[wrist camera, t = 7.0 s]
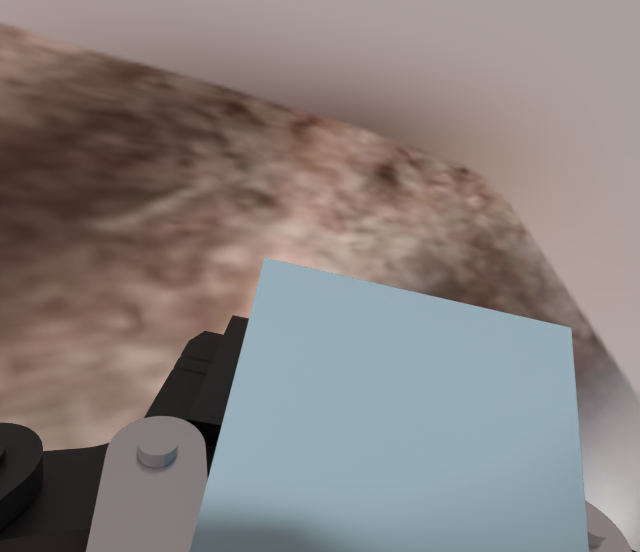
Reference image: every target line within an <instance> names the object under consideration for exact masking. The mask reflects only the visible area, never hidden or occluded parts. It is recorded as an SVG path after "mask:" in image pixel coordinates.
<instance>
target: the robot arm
mask: <svg viewBox="0 0 640 552" xmlns="http://www.w3.org/2000/svg"><path fill="white" fill-rule="evenodd" d="M248 321H249V319H248V318H244V317H239V316H234V315H233V316H232V318H231V320H230V322H229V324H228V326H227V329H226V331H225V333H224V335H222V334H217V333H213V332H208V331H204V332H203V333H201V334H199V335H198V336H196V337H194V338H193V339H191V340H190V341H189V342H188V344H187V345H186V347H185V349H184V350H183V352H182V354H181V357H180V358H179V359H178V361H177V362H176V364H175V366H174V369H173V370H172V371H171V373H170V374H169V376H168V378H167V379H166V381H165V383H164V385H163V386H162V388H161V390H160V391H159V393H158V395H157V396H156V398H155V400H154V402H153V403H152V405H151V407H150V408H149V410H148V412H147V414H146V415H145V417H144V418H143V419H140V420H137V421H135V422H133V423H131V424H129V425H127V426H125V427H124V428H122V429H121V430H120V431H119V432H118V433H117V434H116V435H115V436H114V437H113V438H112V440H111V442H110V443H107V444H104V445H100V446H95V447H89V448H80V449H67V450H53V451H43V446H42V441H41V439H40V438H39V436H38V435H37V434H36V433H35V432H34V431H32V430H31V429H29V428H27V427H24V426H22V425H18V424H13V423H0V552H189V551H190V548H191V544H192V540H193V536H194V532H195V528H196V524H197V520H198V516H199V512H200V508H201V505H202V501H203V497H204V493H205V489H206V485H207V481H208V477H209V473H210V469H211V466H212V462H213V458H214V454H215V450H216V446H217V442H218V438H219V434H220V430H221V426H222V423H223V419H224V415H225V411H226V407H227V403H228V399H229V395H230V391H231V387H232V384H233V380H234V376H235V372H236V368H237V364H238V360H239V356H240V352H241V348H242V344H243V341H244V337H245V333H246V329H247V325H248ZM585 507H586V520H587V532H588V545H589V552H636V551H633V550H631V548H630V546H629V544H628V542H627V540H626V539H625V537H624V536H623V534H622V533H621V531H620V530H619V529H618V528H617V527H616V525H615V524H614V523H613V522H612V521H611V520H610V519H609V518H608V517H607V516H605V515H604V514H603V513H602V512H601V511H600V510H598V509H597V508H596V507H594V506H593V505H591V504H590V503H588V502H587V501H585Z"/></svg>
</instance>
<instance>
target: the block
mask: <svg viewBox="0 0 640 552" xmlns="http://www.w3.org/2000/svg"><path fill="white" fill-rule="evenodd" d="M189 552H589V545H588V532H587V520H586V507H585V495H584V482H583V470H582V457H581V445H580V432H579V420H578V407H577V395H576V382H575V370H574V357H573V345H572V332H571V328H570V327H565V326H561V325H557V324H552V323H548V322H544V321H539V320H535V319H530V318H526V317H522V316H517V315H513V314H509V313H504V312H500V311H495V310H491V309H487V308H482V307H478V306H474V305H469V304H465V303H460V302H456V301H452V300H447V299H443V298H439V297H434V296H430V295H425V294H421V293H417V292H412V291H408V290H404V289H399V288H395V287H390V286H386V285H382V284H377V283H373V282H369V281H364V280H360V279H355V278H351V277H347V276H342V275H338V274H334V273H329V272H325V271H320V270H316V269H312V268H307V267H303V266H299V265H294V264H290V263H285V262H281V261H277V260H272V259H268V258H265V259H264V262H263V266H262V270H261V274H260V278H259V282H258V286H257V290H256V294H255V298H254V301H253V305H252V309H251V313H250V317H249V321H248V325H247V329H246V333H245V337H244V341H243V344H242V348H241V352H240V356H239V360H238V364H237V368H236V372H235V376H234V380H233V384H232V387H231V391H230V395H229V399H228V403H227V407H226V411H225V415H224V419H223V423H222V426H221V430H220V434H219V438H218V442H217V446H216V450H215V454H214V458H213V462H212V466H211V469H210V473H209V477H208V481H207V485H206V489H205V493H204V497H203V501H202V505H201V508H200V512H199V516H198V520H197V524H196V528H195V532H194V536H193V540H192V544H191V548H190V551H189Z"/></svg>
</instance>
